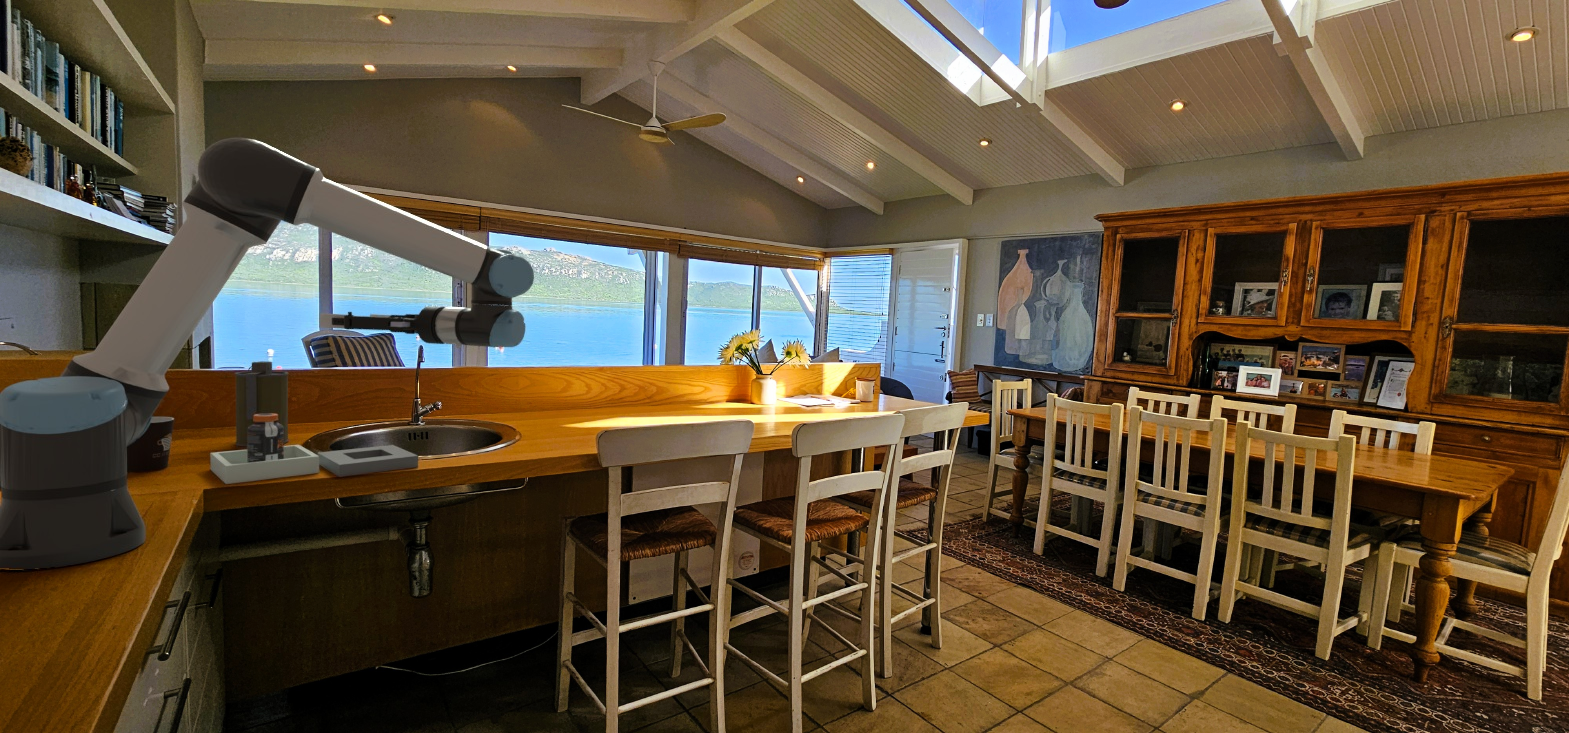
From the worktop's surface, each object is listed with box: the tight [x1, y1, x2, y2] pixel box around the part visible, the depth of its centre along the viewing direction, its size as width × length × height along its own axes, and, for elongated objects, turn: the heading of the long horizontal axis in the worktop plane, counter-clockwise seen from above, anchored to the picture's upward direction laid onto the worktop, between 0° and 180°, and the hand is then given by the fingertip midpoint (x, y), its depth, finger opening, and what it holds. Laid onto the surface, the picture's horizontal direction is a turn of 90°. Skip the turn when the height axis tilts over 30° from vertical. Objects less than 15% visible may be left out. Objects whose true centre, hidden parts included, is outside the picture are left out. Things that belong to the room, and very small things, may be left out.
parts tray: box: [209, 444, 320, 485], centre depth 136 cm, size 15×15×4 cm
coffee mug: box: [126, 416, 175, 474], centre depth 135 cm, size 12×9×10 cm
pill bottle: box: [246, 413, 285, 463], centre depth 136 cm, size 6×6×11 cm
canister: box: [234, 360, 290, 448], centre depth 162 cm, size 11×10×20 cm
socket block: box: [317, 444, 419, 478], centre depth 145 cm, size 15×15×2 cm
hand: (347, 320), depth 135 cm, fingers open, 13 cm apart
